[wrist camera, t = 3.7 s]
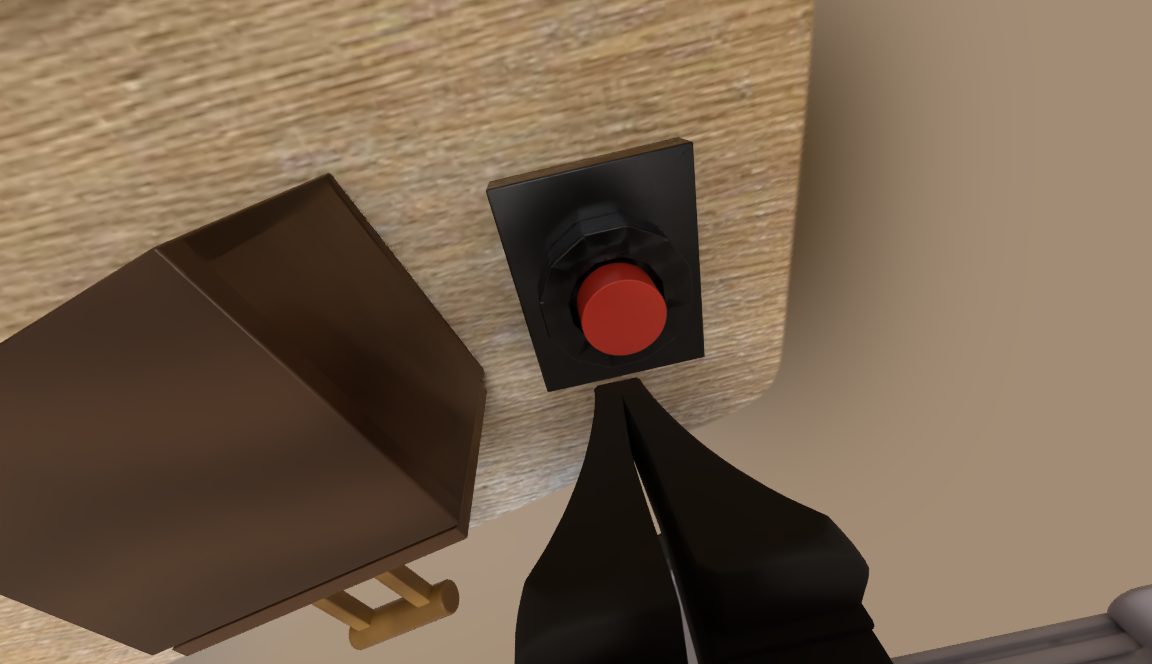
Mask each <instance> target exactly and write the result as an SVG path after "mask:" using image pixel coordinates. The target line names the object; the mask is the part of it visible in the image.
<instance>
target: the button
mask: <svg viewBox="0 0 1152 664" xmlns="http://www.w3.org/2000/svg"><path fill="white" fill-rule="evenodd" d="M577 307H578V312H579V316H580V321H581V325H582V329H583V332H584V335H585V337H586V339H587V340H588V341H589V343H590V344H591V345H592V346H594V347H595V348H596V349H598V350H600V351H602V352H604V353H607V354H611V355H629V354H633V353H636V352H639V351H641V350H643V349H645V348H646V347H648V346H649V345H650V344H652V343H653V342H654V341H655V340H656V339H657V338H658V336H659V335H660V333H661V332H662V330H663V328H664V325H665V322H666V316H667V310H666V304H665V301H664V299H663V297H662V295H661V294H660V292H659V291H658V289H657V288H656V286H655V285H654V283H653V281H652V280H651V278H650V277H649V276H648V274H647V273H646V272H645V271H643V270H642V269H641V268H639V267H637V266H635V265H632V264H629V263H621V262H620V263H611V264H607V265H604V266H602V267H599V268H598V269H596V270H594V271H593V272H592V273H591V274H590V275H589V276H588V277H587V278H586V279H585V280H584V281H583V283H582V285H581V287H580V289H579V292H578V297H577Z"/></svg>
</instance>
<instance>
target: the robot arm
mask: <svg viewBox="0 0 1152 664" xmlns="http://www.w3.org/2000/svg"><path fill="white" fill-rule="evenodd" d="M594 392H595V408H594V417H593V423H592V429H591V435H590V439H589V443H588V447H587V451H586V455H585V459H584V462H583V465H582V469H581V472H580V475H579V478H578V480H577V483H576V486H575V488H574V491H573V493H572V496H571V498H570V500H569V503H568V505H567V508H566V510H565V512H564V514H563V516H562V518H561V520H560V522H559V524H558V526H557V528H556V530H555V532H554V534H553V536H552V538H551V540H550V541H549V543H548V545H547V547H546V549H545V550H544V552H543V553H542V555H541V557H540V558H539V560H538V562H537V563H536V565H535V566H534V568H533V569H532V571H531V573H530V574H529V576H528V577H527V579H526V581H525V583H524V587H523V591H522V596H521V600H520V605H519V610H518V616H517V623H516V632H515V664H1152V584H1151V585H1146V586H1141V587H1137V588H1134V589H1131V590H1129V591H1127V592H1125V593H1123V594H1121V595H1120V596H1118V597H1117V598H1116V599H1115V600H1114V601H1113V602H1112V603H1111V604H1110V606H1109V607H1108V611H1107V613H1104V614H1099V615H1094V616H1090V617H1085V618H1080V619H1075V620H1070V621H1066V622H1061V623H1056V624H1051V625H1047V626H1042V627H1037V628H1032V629H1028V630H1023V631H1018V632H1013V633H1009V634H1004V635H999V636H995V637H990V638H985V639H981V640H976V641H971V642H966V643H961V644H956V645H952V646H947V647H942V648H938V649H933V650H929V651H923V652H918V653H914V654H909V655H904V656H900V657H895V658H890V657H889V656H888V654H887V653H886V651H885V649H884V648H883V646H882V645H881V643H880V642H879V640H878V638H877V637H876V635H875V634H874V632H873V631H872V629H873V628H874V623H873V620H872V619H871V617H870V616H869V614H868V612H867V611H866V609H865V608H864V606H863V605H862V599H863V595H864V592H865V589H866V585H867V582H868V578H869V567H868V565H867V563H866V561H865V560H864V558H863V557H862V556H861V554H860V552H859V551H858V550H857V549H856V547H855V546H854V544H853V543H852V542H851V541H850V540H849V539H848V537H847V536H846V535H845V534H844V533H843V532H842V531H841V529H839V527H838V526H837V525H836V524H835V523H834V522H833V521H832V520H831V519H830V518H829V517H828V516H827V515H825V514H822V513H820V512H818V511H816V510H813V509H811V508H809V507H807V506H804V505H802V504H800V503H798V502H796V501H794V500H791V499H789V498H787V497H785V496H783V495H782V494H780V493H777V492H776V491H774V490H772V489H770V488H768V487H767V486H765V485H763V484H762V483H760V482H758V481H757V480H755V479H753V478H752V477H750V476H748V475H747V474H745V473H743V472H742V471H740V470H738V469H737V468H735V467H734V466H732V465H731V464H729V463H728V462H726V461H725V460H724V459H722V458H721V457H719V456H718V455H717V454H715V453H714V452H713V451H711V450H710V449H709V448H707V447H706V446H705V445H703V444H702V443H701V442H700V441H698V440H697V439H696V438H695V437H694V436H692V435H691V434H690V433H689V432H688V431H687V430H686V429H685V428H683V427H682V426H681V425H680V424H679V423H678V422H677V421H676V420H675V419H674V418H673V417H672V416H671V415H670V414H669V413H668V412H667V411H666V410H665V409H664V408H663V407H662V406H661V405H660V404H659V403H658V402H657V400H656V399H655V398H654V397H653V396H652V395H651V394H650V392H649V391H648V390H647V389H646V387H645V386H644V385H643V383H642V382H641V380H640V379H638V378H637V377H635V378H630V379H626V380H621V381H617V382H613V383H608V384H604V385H599V386H597V387H596V388H595V389H594ZM634 462H635V464H636V467H637V470H638V472H639V475H640V478H641V480H642V483H643V485H644V487H645V491H646V493H647V496H648V498H649V501H650V504H651V506H652V509H653V512H654V514H655V517H656V519H657V522H658V524H659V527H660V531H661V533H662V536H663V539H664V543H665V547H666V550H667V554H668V557H669V561H670V564H671V568H672V569H671V571H670V570H669V567H668V564H667V561H666V559H665V556H664V553H663V550H662V547H661V544H660V541H659V538H658V535H657V532H656V530H655V527H654V523H653V521H652V518H651V514H650V512H649V508H648V505H647V502H646V499H645V496H644V493H643V490H642V486H641V483H640V480H639V477H638V474H637V470H636V467H635V464H634Z"/></svg>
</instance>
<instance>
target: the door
mask: <svg viewBox="0 0 1152 664" xmlns="http://www.w3.org/2000/svg"><path fill="white" fill-rule="evenodd" d="M486 394H487V391H486V389H485V388H484V387H483V386H482V384H481V388H480V394H479V401H478V407H477V413H476V420H475V426H474V432H473V439H472V445H471V451H470V458H469V464H468V471H467V477H466V483H465V490H464V496H463V502H462V510H461V516H460V522H459V524H458V525H455V526H453V527H451V528H448V529H446V530H444V531H441V532H439V533H437V534H434V535H432V536H430V537H427V538H425V539H423V540H420V541H418V542H416V543H413V544H411V545H409V546H406V547H404V548H402V549H399V550H397V551H395V552H392V553H390V554H388V555H385V556H383V557H381V558H378V559H376V560H374V561H371V562H369V563H367V564H364V565H362V566H360V567H357V568H355V569H353V570H350V571H348V572H346V573H343V574H341V575H339V576H336V577H334V578H332V579H329V580H327V581H325V582H323V583H320V584H318V585H316V586H313V587H311V588H309V589H306V590H304V591H302V592H299V593H297V594H295V595H292V596H290V597H288V598H285V599H283V600H281V601H278V602H276V603H274V604H271V605H269V606H267V607H264V608H262V609H260V610H257V611H255V612H253V613H250V614H248V615H246V616H243V617H241V618H239V619H236V620H234V621H232V622H229V623H227V624H225V625H222V626H220V627H218V628H215V629H213V630H211V631H208V632H206V633H204V634H201V635H199V636H197V637H194V638H192V639H190V640H187V641H185V642H183V643H180V644H178V645H176V646H174V647H173V649H172V650H174V651H176V652H178V653H181V654H183V655H186V656H189V655H191V654H194V653H196V652H198V651H201V650H203V649H205V648H208V647H210V646H212V645H215V644H217V643H219V642H222V641H224V640H227V639H229V638H231V637H234V636H236V635H238V634H241V633H243V632H246V631H248V630H250V629H253V628H255V627H258V626H260V625H262V624H265V623H267V622H269V621H272V620H274V619H276V618H279V617H281V616H284V615H286V614H288V613H290V612H293V611H295V610H298V609H300V608H303V607H305V606H307V605H310V604H312V605H314V606H316V607H318V608H319V609H321V610H323V611H324V612H326V613H328V614H330V615H331V616H333V617H335V618H336V619H338V620H340V621H342V622H343V623H345V624H347V625H349V626H350V629H349V640H350V643H351V645H352V646H353V648H355V649H357V650H362V649H365V648H368V647H370V646H373V645H375V644H378V643H380V642H383V641H386V640H388V639H391V638H393V637H396V636H398V635H401V634H404V633H406V632H409V631H411V630H414V629H416V628H419V627H421V626H424V625H426V624H429V623H432V622H434V621H437V620H439V619H442V618H444V617H447V616H449V615H452V614H453V613H455V611H456V610H457V608H458V605H459V593H458V589H457V586H456V585H455V583H454V582H453V581H452V580H448V579H446V580H444V581H441V582H439V583H436V584H434V585H431V584H429V583H428V582H426V581H425V580H424V579H423V578H421V577H420V576H418V575H417V574H416V573H414V572H413V571H412V570H410V569H409V568H408V567H406V566H405V565H404V564H407V563H409V562H412V561H414V560H416V559H419V558H421V557H423V556H426V555H428V554H431V553H433V552H435V551H438V550H440V549H442V548H445V547H447V546H450V545H452V544H454V543H457V542H459V541H461V540H464V539H466V538H467V536H468V528H469V521H470V513H471V506H472V499H473V491H474V484H475V476H476V469H477V461H478V454H479V447H480V439H481V432H482V424H483V417H484V409H485V402H486ZM371 578H375V579H377V580H379V581H380V582H381V583H383V584H384V585H386V586H387V587H388V588H390V589H391V590H393V591H394V592H396V593H397V594H399V595H400V596H402V598H400V599H397V600H395V601H392V602H390V603H387V604H385V605H382V606H380V607H378V608H375V609H372V608H370V607H369V606H367V605H365V604H364V603H362V602H360V601H359V600H357V599H356V598H354V597H353V596H351V595H349V594H348V593H346V592H345V591H343V590H345V589H347V588H350V587H352V586H354V585H357V584H359V583H362V582H364V581H366V580H369V579H371Z"/></svg>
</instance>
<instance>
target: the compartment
mask: <svg viewBox="0 0 1152 664" xmlns="http://www.w3.org/2000/svg"><path fill="white" fill-rule="evenodd" d="M482 377H483V369H482V367H481V366H480V365H479V364H478V362H477V361H476V360H475V359H474V357H473V356H472V355H471V353H470V352H469V351H468V350H467V348H466V347H465V346H464V345H463V343H462V342H461V341H460V339H459V338H458V337H457V336H456V334H455V333H454V332H453V330H452V329H451V328H450V327H449V325H448V324H447V323H446V322H445V320H444V319H443V318H442V316H441V315H440V314H439V313H438V311H437V310H436V309H435V307H434V306H433V305H432V304H431V302H430V301H429V300H428V299H427V297H426V296H425V295H424V293H423V292H422V291H421V290H420V288H419V287H418V286H417V285H416V283H415V282H414V281H413V279H412V278H411V277H410V276H409V274H408V273H407V272H406V270H405V269H404V268H403V267H402V265H401V264H400V263H399V262H398V260H397V259H396V258H395V256H394V255H393V254H392V253H391V251H390V250H389V249H388V247H387V246H386V245H385V244H384V242H383V241H382V240H381V239H380V237H379V236H378V235H377V233H376V232H375V231H374V230H373V228H372V227H371V226H370V225H369V223H368V222H367V221H366V219H365V218H364V217H363V216H362V214H361V213H360V212H359V210H358V209H357V208H356V207H355V205H354V204H353V203H352V202H351V200H350V199H349V198H348V196H347V195H346V194H345V193H344V191H343V190H342V189H341V187H340V186H339V185H338V184H337V182H336V181H335V180H334V179H333V177H332V176H331V175H330V174H329V173H327V174H325V175H322V176H320V177H318V178H315V179H313V180H311V181H308V182H306V183H304V184H301V185H299V186H297V187H294V188H292V189H290V190H287V191H285V192H282V193H280V194H278V195H275V196H273V197H271V198H268V199H266V200H264V201H261V202H259V203H257V204H254V205H252V206H250V207H247V208H245V209H243V210H240V211H238V212H235V213H233V214H231V215H228V216H226V217H224V218H221V219H219V220H217V221H214V222H212V223H210V224H207V225H205V226H203V227H200V228H198V229H196V230H193V231H191V232H188V233H186V234H184V235H181V236H179V237H177V238H174V239H172V240H170V241H167V242H165V243H163V244H160V245H158V246H156V247H154V248H152V249H150V250H149V251H147V252H146V253H144V254H142V255H141V256H139V257H138V258H136V259H134V260H133V261H131V262H129V263H128V264H126V265H125V266H123V267H121V268H120V269H118V270H117V271H115V272H113V273H112V274H110V275H109V276H107V277H105V278H104V279H102V280H101V281H99V282H97V283H96V284H94V285H93V286H91V287H89V288H88V289H86V290H85V291H83V292H81V293H80V294H78V295H77V296H75V297H73V298H72V299H70V300H69V301H67V302H65V303H64V304H62V305H61V306H59V307H57V308H56V309H54V310H53V311H51V312H49V313H48V314H46V315H45V316H43V317H41V318H40V319H38V320H37V321H35V322H33V323H32V324H30V325H29V326H27V327H25V328H24V329H22V330H21V331H19V332H17V333H16V334H14V335H13V336H11V337H9V338H8V339H6V340H5V341H3V342H1V343H0V595H3V596H5V597H8V598H10V599H13V600H15V601H18V602H20V603H23V604H25V605H28V606H30V607H33V608H35V609H38V610H40V611H43V612H45V613H48V614H50V615H53V616H55V617H58V618H60V619H63V620H65V621H68V622H70V623H73V624H75V625H78V626H80V627H83V628H85V629H88V630H90V631H93V632H95V633H98V634H100V635H103V636H105V637H108V638H110V639H113V640H115V641H118V642H120V643H123V644H125V645H128V646H130V647H133V648H135V649H138V650H140V651H143V652H145V653H148V654H150V655H155V654H157V653H160V652H162V651H164V650H166V649H169V648H171V647H173V646H176V645H178V644H180V643H183V642H185V641H187V640H190V639H192V638H194V637H197V636H199V635H201V634H204V633H206V632H208V631H211V630H213V629H215V628H218V627H220V626H222V625H225V624H227V623H229V622H232V621H234V620H236V619H239V618H241V617H243V616H246V615H248V614H250V613H253V612H255V611H257V610H260V609H262V608H264V607H267V606H269V605H271V604H274V603H276V602H278V601H281V600H283V599H285V598H288V597H290V596H292V595H295V594H297V593H299V592H302V591H304V590H306V589H309V588H311V587H313V586H316V585H318V584H320V583H323V582H325V581H327V580H329V579H332V578H334V577H336V576H339V575H341V574H343V573H346V572H348V571H350V570H353V569H355V568H357V567H360V566H362V565H364V564H367V563H369V562H371V561H374V560H376V559H378V558H381V557H383V556H385V555H388V554H390V553H392V552H395V551H397V550H399V549H402V548H404V547H406V546H409V545H411V544H413V543H416V542H418V541H420V540H423V539H425V538H427V537H430V536H432V535H434V534H437V533H439V532H441V531H444V530H446V529H448V528H451V527H453V526H455V525H458V524H459V522H460V516H461V510H462V502H463V496H464V490H465V483H466V477H467V471H468V464H469V458H470V451H471V445H472V439H473V432H474V426H475V420H476V413H477V407H478V401H479V394H480V388H481V382H482Z"/></svg>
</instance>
